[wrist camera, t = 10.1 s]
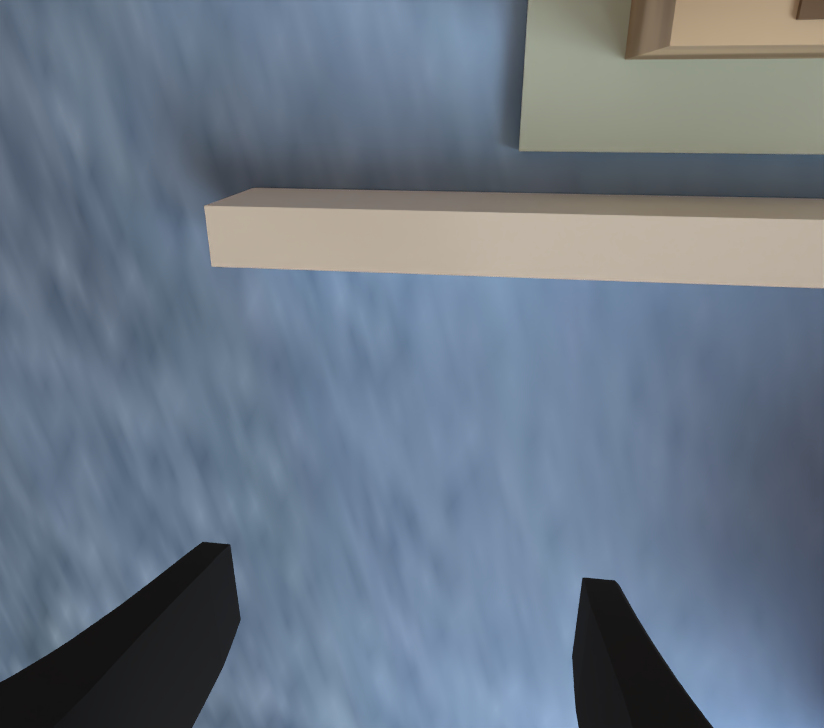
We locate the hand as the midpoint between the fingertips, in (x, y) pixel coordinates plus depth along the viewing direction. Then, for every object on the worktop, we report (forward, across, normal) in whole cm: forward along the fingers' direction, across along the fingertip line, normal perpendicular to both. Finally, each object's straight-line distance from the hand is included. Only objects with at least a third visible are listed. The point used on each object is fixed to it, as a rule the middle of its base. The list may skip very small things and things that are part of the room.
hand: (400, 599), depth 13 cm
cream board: (+9, -5, -6) cm, 12 cm away
